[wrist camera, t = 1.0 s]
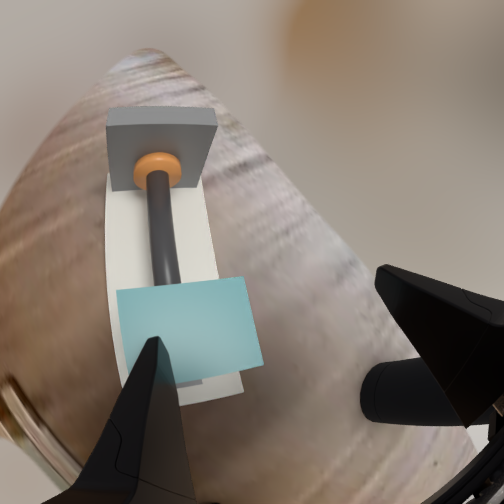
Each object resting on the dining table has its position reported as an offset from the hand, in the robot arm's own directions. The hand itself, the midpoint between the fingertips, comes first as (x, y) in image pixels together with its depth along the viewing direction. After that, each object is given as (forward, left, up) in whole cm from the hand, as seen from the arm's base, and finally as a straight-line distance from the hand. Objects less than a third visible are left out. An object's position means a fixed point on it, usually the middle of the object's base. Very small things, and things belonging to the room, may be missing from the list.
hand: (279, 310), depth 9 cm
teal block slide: (+5, +3, -11) cm, 13 cm away
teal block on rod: (0, +3, -9) cm, 10 cm away
